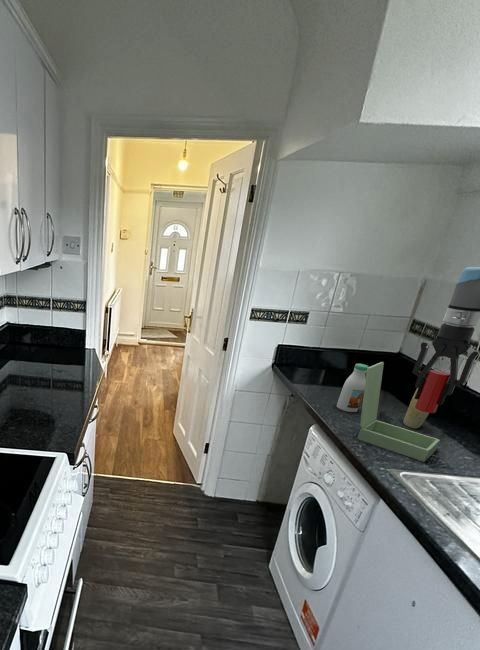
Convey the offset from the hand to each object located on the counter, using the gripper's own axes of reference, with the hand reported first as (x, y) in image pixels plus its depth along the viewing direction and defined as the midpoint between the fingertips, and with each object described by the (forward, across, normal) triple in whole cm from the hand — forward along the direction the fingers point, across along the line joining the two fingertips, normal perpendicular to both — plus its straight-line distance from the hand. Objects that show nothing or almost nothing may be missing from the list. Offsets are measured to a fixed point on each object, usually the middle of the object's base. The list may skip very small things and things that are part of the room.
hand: (428, 401), depth 126 cm
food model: (+21, -8, +35) cm, 42 cm away
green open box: (+20, -6, +8) cm, 23 cm away
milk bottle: (+20, -30, +29) cm, 46 cm away
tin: (+3, 0, 0) cm, 3 cm away
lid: (+5, -17, +8) cm, 19 cm away
